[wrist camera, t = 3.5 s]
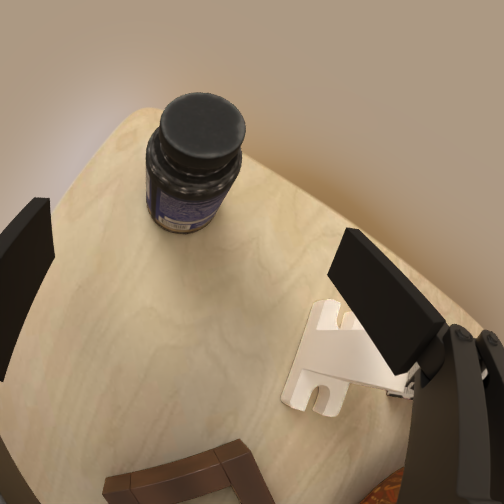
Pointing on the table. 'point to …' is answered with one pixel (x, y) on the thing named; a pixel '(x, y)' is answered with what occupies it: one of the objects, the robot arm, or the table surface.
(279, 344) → the table surface
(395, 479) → the bowl
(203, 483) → the dock
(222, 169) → the pill bottle
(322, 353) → the cable organizer
